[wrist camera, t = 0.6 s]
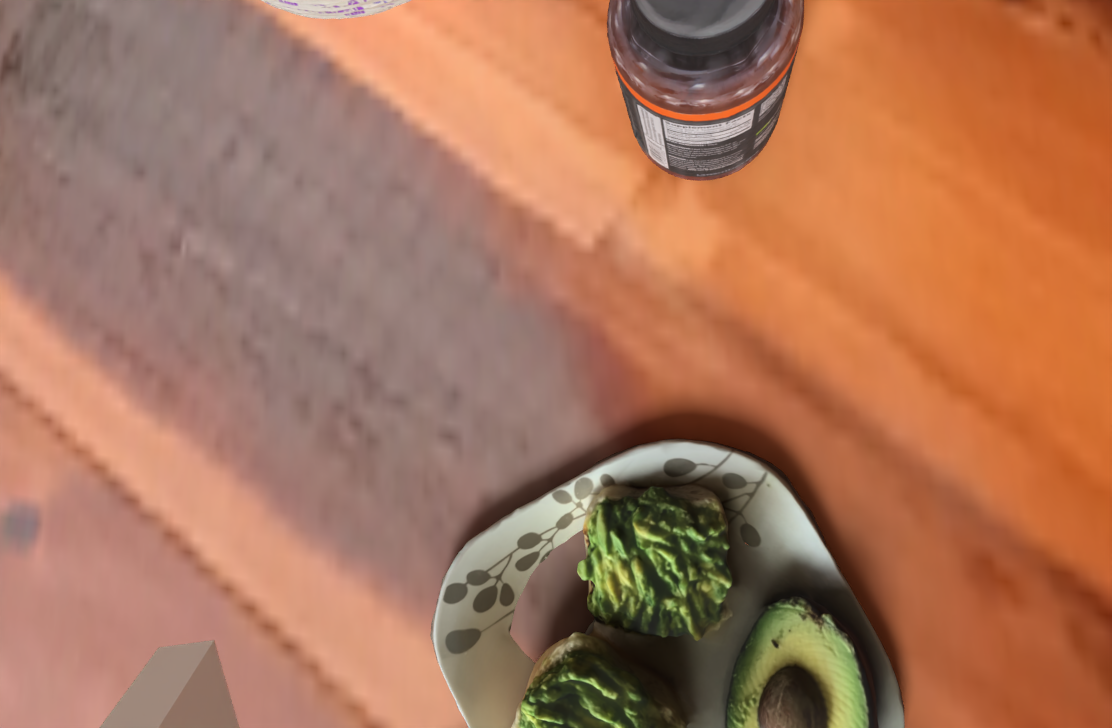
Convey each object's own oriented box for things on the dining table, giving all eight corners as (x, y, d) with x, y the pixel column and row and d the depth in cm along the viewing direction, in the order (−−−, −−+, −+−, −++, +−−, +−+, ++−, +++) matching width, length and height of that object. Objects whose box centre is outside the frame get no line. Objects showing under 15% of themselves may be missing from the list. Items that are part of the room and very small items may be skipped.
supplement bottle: (645, 36, 31) (614, -159, 20) (790, 50, 30) (842, -150, 19) (619, 176, 31) (574, 57, 20) (763, 195, 30) (799, 80, 19)
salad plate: (525, 974, 31) (495, 1074, 27) (351, 583, 33) (296, 614, 29) (966, 806, 28) (1017, 886, 24) (744, 388, 30) (751, 388, 26)
